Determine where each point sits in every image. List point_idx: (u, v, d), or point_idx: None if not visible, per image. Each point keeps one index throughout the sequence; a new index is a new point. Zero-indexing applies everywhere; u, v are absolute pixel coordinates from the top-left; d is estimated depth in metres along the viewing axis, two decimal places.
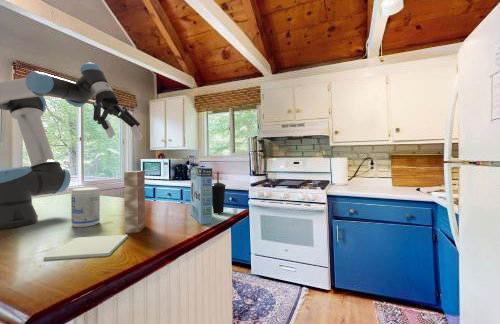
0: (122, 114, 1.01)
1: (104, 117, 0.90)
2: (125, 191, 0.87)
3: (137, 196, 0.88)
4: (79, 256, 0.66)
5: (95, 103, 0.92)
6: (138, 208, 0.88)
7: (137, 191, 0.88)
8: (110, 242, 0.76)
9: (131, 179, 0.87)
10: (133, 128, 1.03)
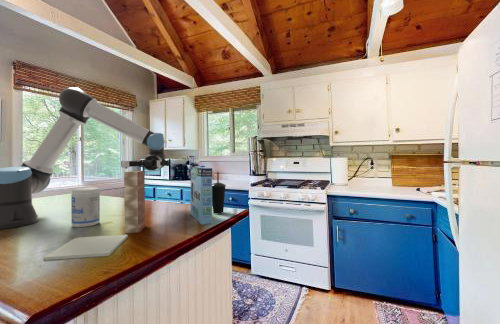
0: (140, 165, 1.11)
1: (162, 165, 1.09)
2: (125, 191, 0.87)
3: (137, 196, 0.88)
4: (79, 256, 0.66)
5: None
6: (138, 208, 0.88)
7: (137, 191, 0.88)
8: (110, 242, 0.76)
9: (131, 179, 0.87)
10: (128, 163, 1.05)
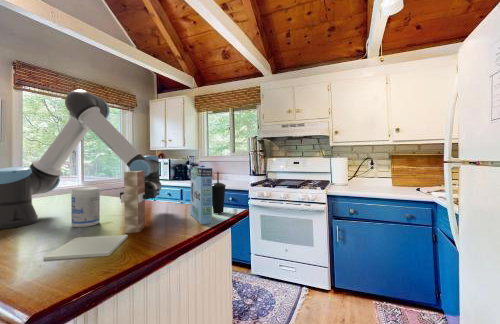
0: None
1: None
2: (125, 191, 0.87)
3: (137, 196, 0.88)
4: (79, 256, 0.66)
5: (158, 192, 1.03)
6: (138, 208, 0.88)
7: (137, 191, 0.88)
8: (110, 242, 0.76)
9: (131, 179, 0.87)
10: None
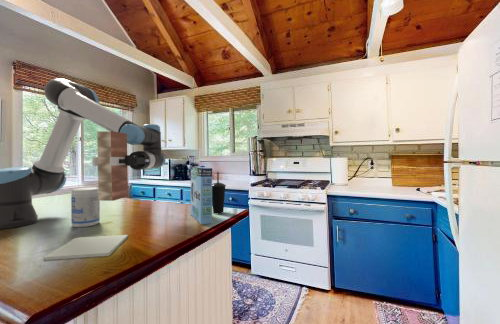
0: None
1: (127, 164, 0.83)
2: (98, 153, 0.77)
3: None
4: (79, 256, 0.66)
5: (147, 160, 0.90)
6: (112, 173, 0.77)
7: (110, 153, 0.77)
8: (110, 242, 0.76)
9: (104, 140, 0.77)
10: None
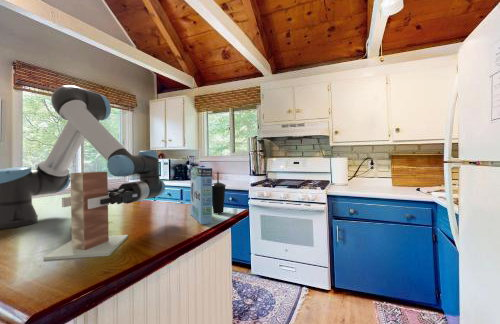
0: None
1: None
2: (71, 197, 0.70)
3: (83, 204, 0.69)
4: (79, 256, 0.66)
5: (134, 195, 0.82)
6: (84, 219, 0.69)
7: (82, 198, 0.69)
8: (110, 242, 0.76)
9: (77, 182, 0.69)
10: None
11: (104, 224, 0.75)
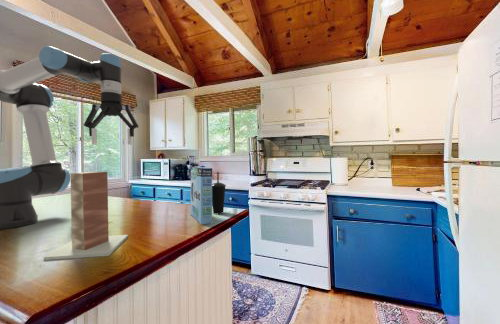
0: (119, 116, 1.00)
1: (91, 125, 0.98)
2: (71, 197, 0.70)
3: (83, 204, 0.69)
4: (79, 256, 0.66)
5: None
6: (84, 219, 0.69)
7: (82, 198, 0.69)
8: (110, 242, 0.76)
9: (77, 182, 0.69)
10: None
11: (104, 224, 0.75)
